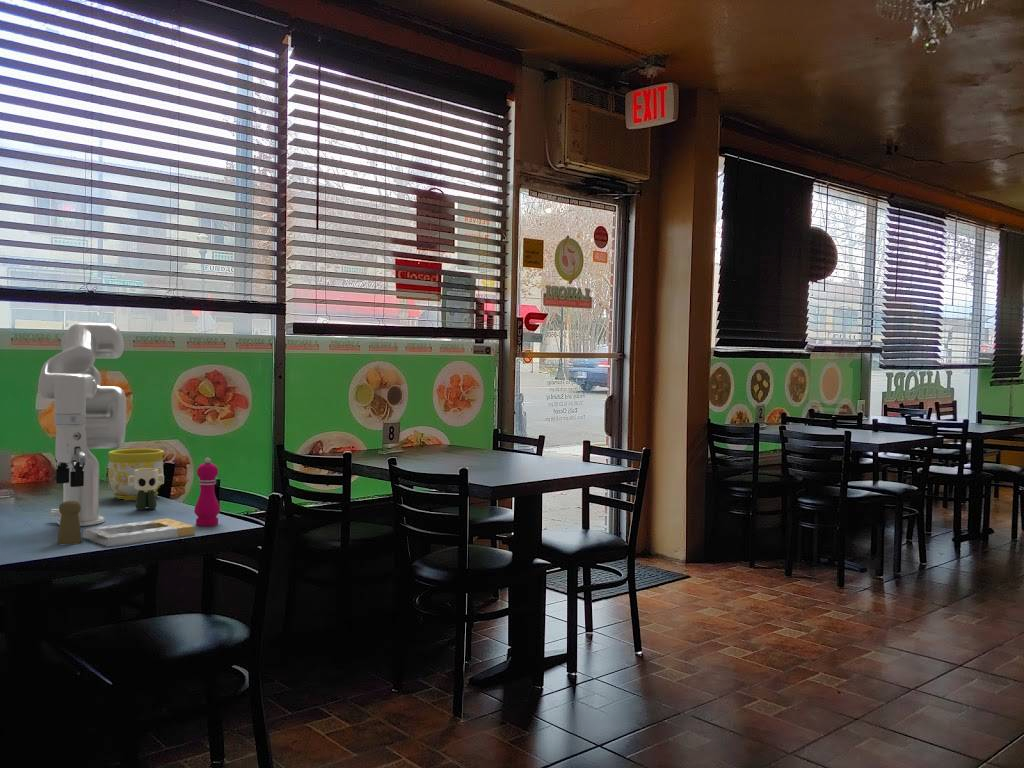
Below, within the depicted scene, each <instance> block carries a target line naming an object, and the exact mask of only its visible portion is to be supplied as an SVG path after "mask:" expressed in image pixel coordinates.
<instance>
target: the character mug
mask: <svg viewBox="0 0 1024 768" xmlns="http://www.w3.org/2000/svg"><path fill="white" fill-rule="evenodd" d="M158 477H161V482H158ZM131 479H134V483H131ZM160 484H161V485H164V484H165V475H164V474H158V469H152V468H144V469H136V470H135V471H134V476H128V486H134V487H135V489H137V490H139V492H138V494H137V499H136V500H135V508H136V509H137V510H140V509H142V510H146V509H147V508H148V509H147V510H153V509H156V508H157V499H156V498H157V497H156V496H155V493H154V491H153V489H156V488H157V486H158V485H160ZM161 485H160V486H161Z"/></svg>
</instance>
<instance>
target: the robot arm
mask: <svg viewBox="0 0 1024 768" xmlns="http://www.w3.org/2000/svg"><path fill="white" fill-rule="evenodd" d="M124 341H125V340H124V337H123V335H122V332H121V330H120V328H119V327H117V326H116V325H115V324H112V323H100V322H99V323H98V322H79V323H75V324H72V325H71V326H69V328H68V329H67V332H66V333H65V334H63V336H62V338H61V349H62V350H61V351H60V352H59V353H56V354H55V355H54V356H52V357H50V358H49V359H48V360H46V361H45V362H44V364H43V365H42V367H41V369H40V370H41V371H40V374H39V379H38V382H37V383H38V385H37V389H38V395H39V396H40V397H41V398H42V399H43V400H46V401H48V402H49V401H51V402H53V403H54V405H53V407H54V408H53V412H54V415H53V416H54V419H53V421H54V422H53V423H54V425H53V427H56V432H55V443H54V444H55V446H54V447H55V449H54V454H55V483H56V484H57V485H59V484H60V485H61V484H63V487H62V488H63V492H62V493H63V501H62V503H63V502H66V501H76V502H79V503H80V506H81V510H80V512H79V513H78V515H79V522H80V527H85V526H86V527H87V526H93V525H94V526H95V525H99V524H102V523H104V522H105V517H104V516H102V515H100V464H99V459H97V457H96V456H95V454H93V453H92V452H91V451H90V450H94V449H99V450H100V449H118V448H120V447H122V446H123V445H124V443H125V440H126V425H127V423H126V422H127V397H126V394H125V391H124V390H123V389H122V388H121V387H120V386H113V385H112V386H111V385H109V386H107V385H102V386H101V384H102V382H101V380H102V376H101V373H100V371H99V370H98V369H97V367H95V366H94V364H95V361H96V359H108V360H109V359H112V360H113V359H114V360H115V359H119V358H121V356H122V355H123V353H124V349H125V343H124ZM49 513H50V516H51V517H59V518H58V519H57V525H58V526H60V521H61V513H60V511H59V508H51V509H50V512H49Z"/></svg>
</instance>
